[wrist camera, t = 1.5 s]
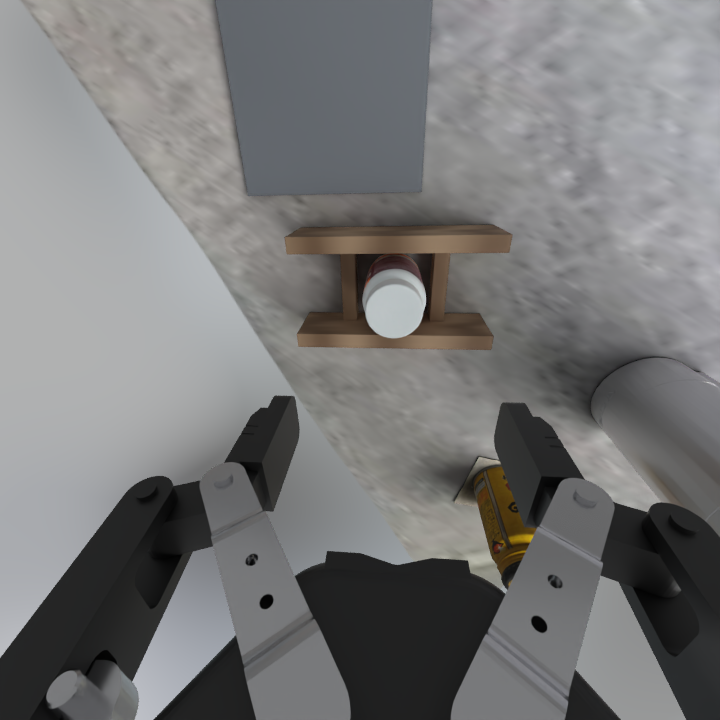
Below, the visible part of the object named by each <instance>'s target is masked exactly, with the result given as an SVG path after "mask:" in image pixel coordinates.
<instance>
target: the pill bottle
mask: <svg viewBox="0 0 720 720" xmlns="http://www.w3.org/2000/svg"><path fill="white" fill-rule="evenodd" d="M362 302H363V308H364V311H365V316H366V320H367V322H368V324H369V326H370V327H371V328H372V329H373V330H374V331H375V332H376V333H377V334H379V335H381V336H383V337H387V338H401V337H404V336H407V335H409V334H410V333H412V332H413V331H414V330H415V329H416V328H417V327H418V326H419V324H420V322H421V320H422V317H423V311H424V309H425V306H426V293H425V289H424V286H423V282H422V278H421V274H420V271H419V268H418V266H417V264H416V263H415V262H414V261H413V260H412V259H411V258H410V257H409V256H407V255H405V254H402V253H393V254H384V255H382V256H380V257H379V258H377V259H376V260H375V261H374V262H373V264H372V265H371V267H370V269H369V271H368V275H367V279H366V283H365V287H364V292H363V299H362Z"/></svg>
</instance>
